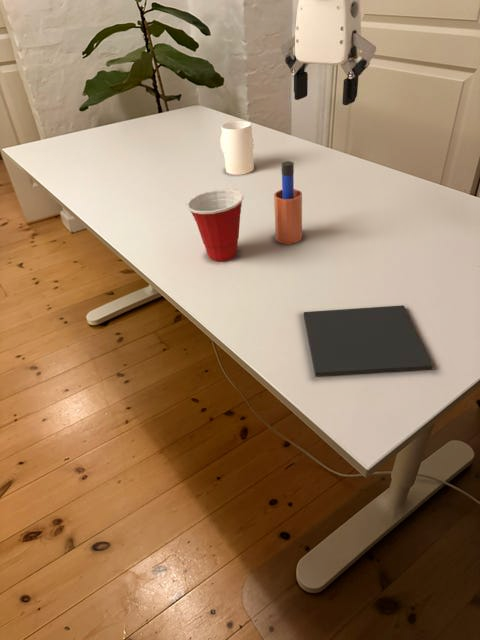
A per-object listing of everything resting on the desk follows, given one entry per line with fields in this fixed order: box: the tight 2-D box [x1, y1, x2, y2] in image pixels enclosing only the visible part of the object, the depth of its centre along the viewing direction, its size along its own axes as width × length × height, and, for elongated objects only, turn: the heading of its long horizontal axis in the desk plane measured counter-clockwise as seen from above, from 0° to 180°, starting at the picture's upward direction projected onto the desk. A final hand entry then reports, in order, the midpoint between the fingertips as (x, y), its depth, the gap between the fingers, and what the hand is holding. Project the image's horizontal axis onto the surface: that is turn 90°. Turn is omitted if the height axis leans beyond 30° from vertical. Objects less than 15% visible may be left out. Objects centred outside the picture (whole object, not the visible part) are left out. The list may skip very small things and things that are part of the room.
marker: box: [281, 160, 295, 199], centre depth 91 cm, size 2×2×15 cm
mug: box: [219, 120, 255, 176], centre depth 128 cm, size 8×12×12 cm
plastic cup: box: [186, 188, 245, 262], centre depth 89 cm, size 11×11×12 cm
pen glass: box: [273, 188, 303, 245], centre depth 94 cm, size 5×5×10 cm
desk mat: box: [303, 305, 434, 377], centre depth 69 cm, size 16×14×1 cm
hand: (324, 100), depth 81 cm, fingers open, 9 cm apart
